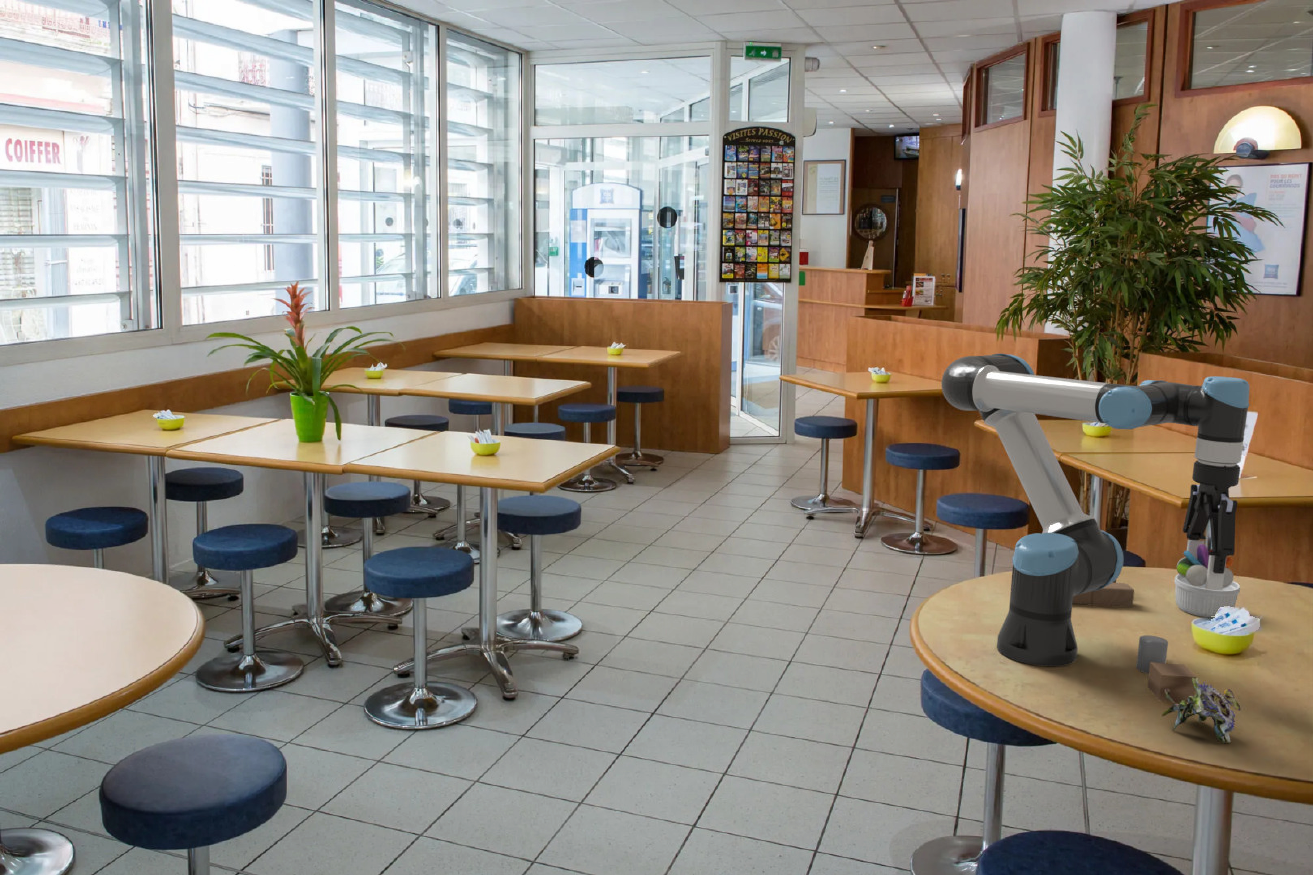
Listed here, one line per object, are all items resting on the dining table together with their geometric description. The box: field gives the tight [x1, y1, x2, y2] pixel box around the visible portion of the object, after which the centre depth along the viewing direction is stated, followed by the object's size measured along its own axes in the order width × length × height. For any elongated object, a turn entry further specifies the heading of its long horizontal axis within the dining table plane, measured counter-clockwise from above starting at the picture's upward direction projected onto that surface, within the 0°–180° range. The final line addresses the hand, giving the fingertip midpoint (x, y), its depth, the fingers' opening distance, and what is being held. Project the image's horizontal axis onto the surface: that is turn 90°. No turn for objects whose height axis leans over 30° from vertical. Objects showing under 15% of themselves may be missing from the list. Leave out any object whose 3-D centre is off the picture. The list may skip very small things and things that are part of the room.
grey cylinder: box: [1136, 634, 1169, 675], centre depth 205 cm, size 5×5×6 cm
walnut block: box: [1147, 662, 1197, 704], centre depth 193 cm, size 6×6×5 cm
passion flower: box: [1161, 678, 1242, 744], centre depth 178 cm, size 11×11×12 cm
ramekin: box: [1174, 573, 1241, 618], centre depth 241 cm, size 13×13×7 cm
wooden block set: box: [1072, 579, 1135, 608], centre depth 250 cm, size 17×6×18 cm
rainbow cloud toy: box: [1176, 543, 1234, 588], centre depth 197 cm, size 8×10×7 cm
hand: (1202, 581), depth 198 cm, fingers closed on rainbow cloud toy, 9 cm apart
